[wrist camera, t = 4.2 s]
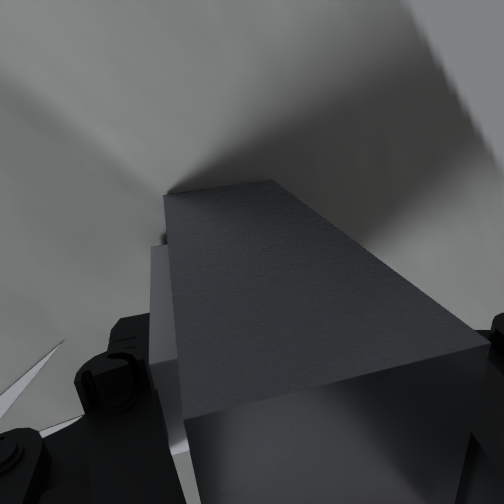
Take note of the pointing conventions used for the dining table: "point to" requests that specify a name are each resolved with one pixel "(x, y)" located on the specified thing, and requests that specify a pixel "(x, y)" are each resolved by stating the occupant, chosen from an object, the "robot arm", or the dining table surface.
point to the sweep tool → (311, 359)
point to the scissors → (11, 394)
